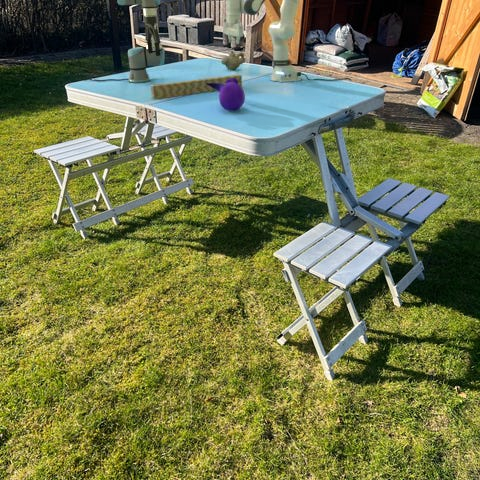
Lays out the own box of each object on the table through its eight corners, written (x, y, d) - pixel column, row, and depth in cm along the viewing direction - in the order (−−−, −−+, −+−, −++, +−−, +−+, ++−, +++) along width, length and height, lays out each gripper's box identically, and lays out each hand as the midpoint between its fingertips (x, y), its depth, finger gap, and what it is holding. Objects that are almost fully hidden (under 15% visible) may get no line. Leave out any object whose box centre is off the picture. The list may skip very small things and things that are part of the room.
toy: (230, 101, 277) (244, 117, 257) (203, 96, 270) (216, 112, 249) (236, 75, 269) (252, 89, 249) (209, 70, 262) (222, 84, 241)
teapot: (225, 72, 364) (224, 52, 356) (218, 70, 372) (217, 50, 365) (247, 69, 373) (247, 50, 365) (240, 67, 381) (240, 48, 374)
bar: (154, 99, 287) (152, 86, 283) (152, 98, 290) (150, 85, 286) (241, 87, 314) (241, 75, 310) (238, 86, 317) (238, 74, 313)
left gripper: (163, 17, 258) (167, 56, 269) (149, 14, 277) (153, 51, 288) (151, 17, 255) (155, 57, 266) (137, 15, 274) (141, 52, 285)
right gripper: (245, 20, 286) (245, 44, 293) (230, 18, 301) (231, 41, 308) (237, 21, 283) (237, 45, 290) (222, 19, 298) (222, 42, 305)
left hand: (154, 54), depth 277 cm, fingers open, 13 cm apart
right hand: (234, 43), depth 299 cm, fingers open, 8 cm apart
